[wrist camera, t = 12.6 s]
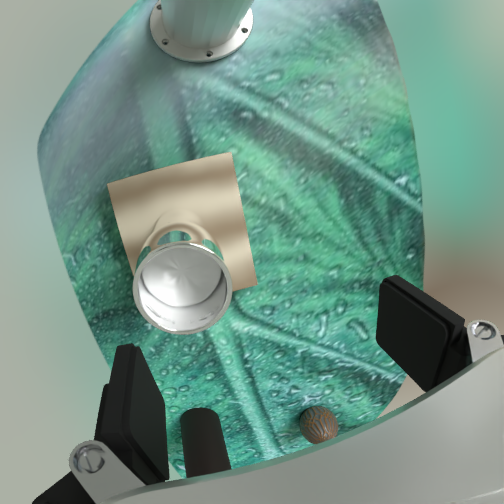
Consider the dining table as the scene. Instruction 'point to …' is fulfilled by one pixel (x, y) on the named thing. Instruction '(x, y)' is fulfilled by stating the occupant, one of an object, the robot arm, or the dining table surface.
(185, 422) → the bottle
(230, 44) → the robot arm
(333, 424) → the vase
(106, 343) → the dining table surface
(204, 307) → the beer glass
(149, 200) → the plate
